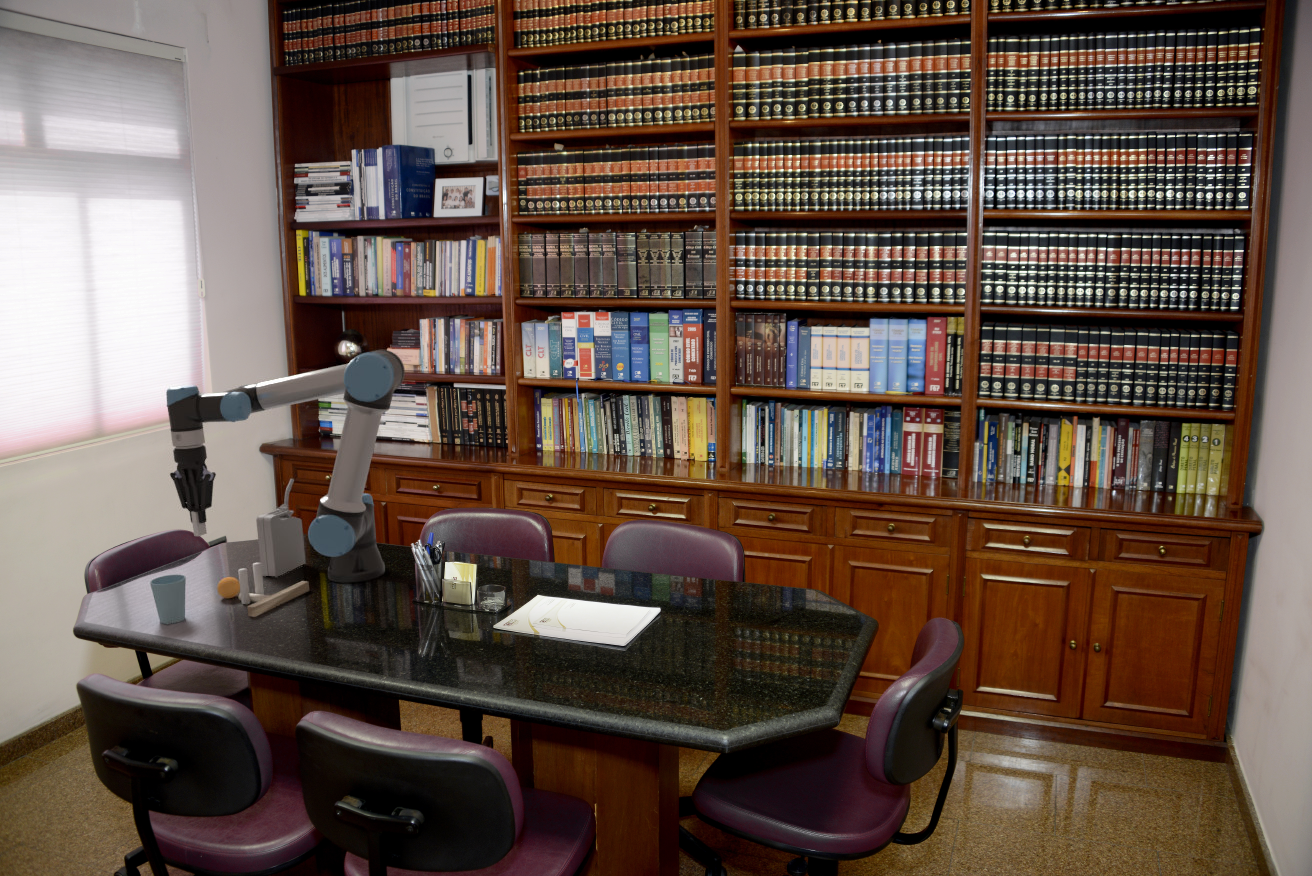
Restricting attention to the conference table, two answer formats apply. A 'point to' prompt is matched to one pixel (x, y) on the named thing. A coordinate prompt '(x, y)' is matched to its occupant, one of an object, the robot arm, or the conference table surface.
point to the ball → (228, 587)
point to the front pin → (255, 597)
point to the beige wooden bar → (278, 598)
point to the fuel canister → (280, 539)
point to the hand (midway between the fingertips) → (200, 534)
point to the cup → (169, 597)
